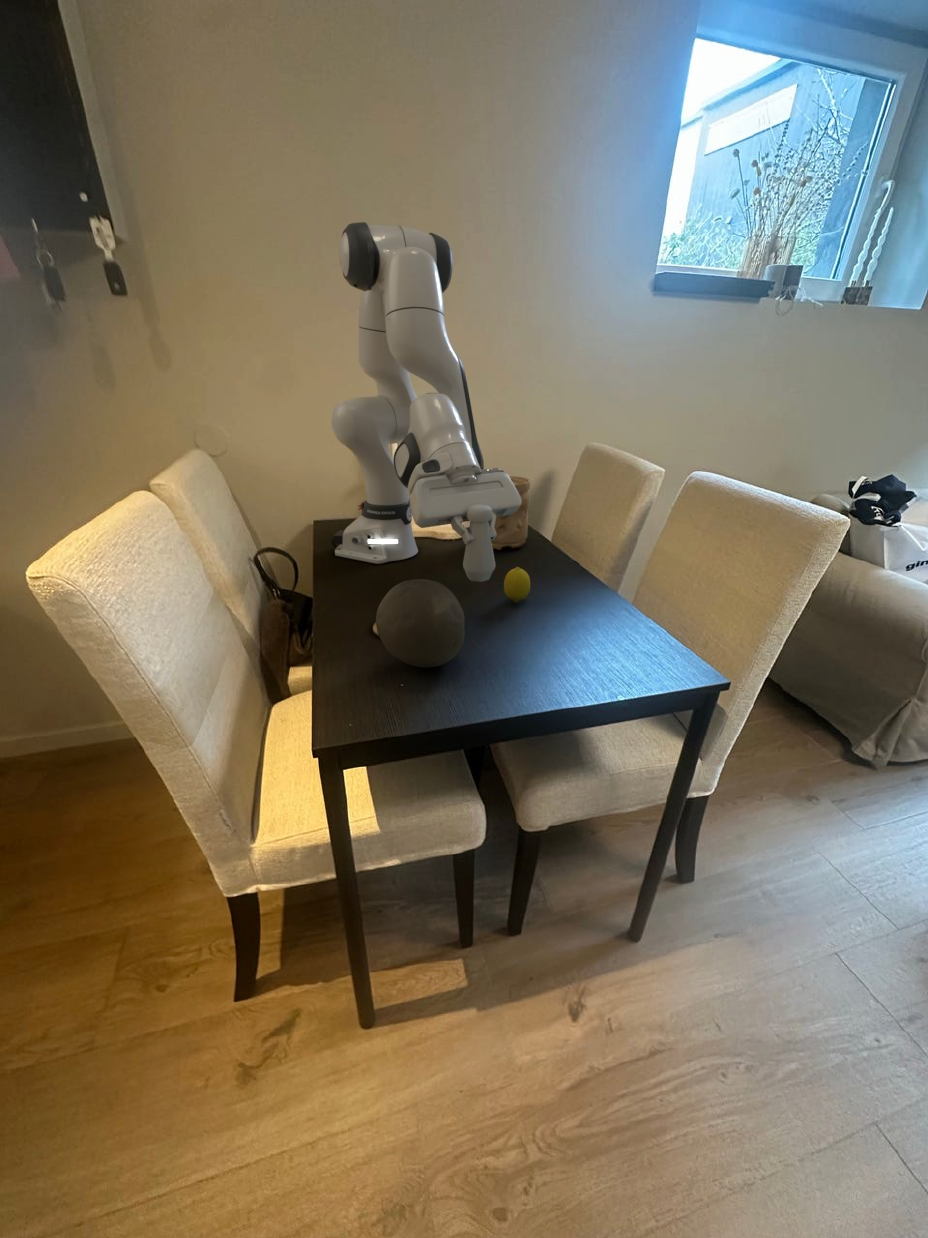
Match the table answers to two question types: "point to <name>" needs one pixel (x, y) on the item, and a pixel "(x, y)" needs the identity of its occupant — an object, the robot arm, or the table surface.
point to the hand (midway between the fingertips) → (481, 540)
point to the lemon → (517, 584)
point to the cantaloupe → (421, 623)
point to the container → (514, 520)
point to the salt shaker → (479, 545)
